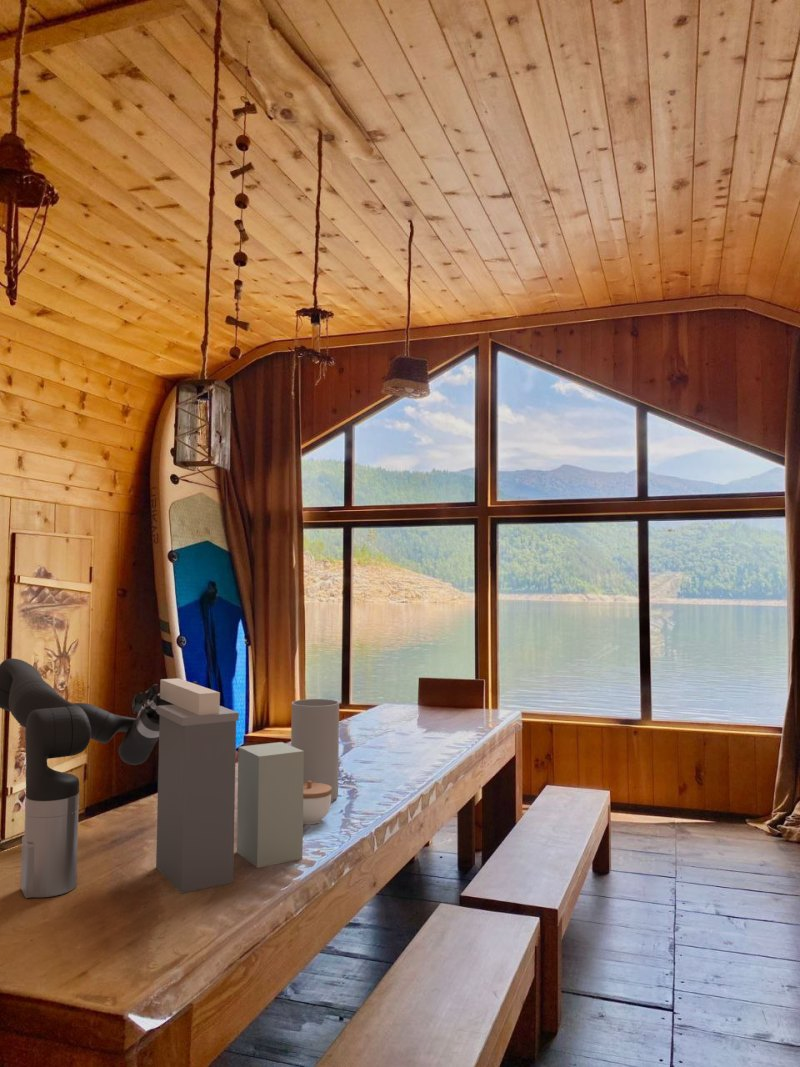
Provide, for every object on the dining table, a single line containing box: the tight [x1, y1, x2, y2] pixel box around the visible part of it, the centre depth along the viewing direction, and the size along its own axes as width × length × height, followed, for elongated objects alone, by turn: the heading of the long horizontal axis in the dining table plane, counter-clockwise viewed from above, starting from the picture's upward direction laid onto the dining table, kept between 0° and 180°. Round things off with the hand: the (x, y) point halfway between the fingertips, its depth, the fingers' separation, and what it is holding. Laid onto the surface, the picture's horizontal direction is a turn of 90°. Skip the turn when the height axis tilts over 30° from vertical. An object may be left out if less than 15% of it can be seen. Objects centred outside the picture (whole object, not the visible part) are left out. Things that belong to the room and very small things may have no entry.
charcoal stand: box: [155, 705, 240, 894], centre depth 160 cm, size 11×16×32 cm
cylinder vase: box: [290, 698, 340, 802], centre depth 215 cm, size 12×12×25 cm
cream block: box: [159, 677, 221, 715], centre depth 165 cm, size 4×25×4 cm, turn 33°
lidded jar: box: [303, 781, 332, 825], centre depth 195 cm, size 11×11×9 cm
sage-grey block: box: [236, 741, 304, 868], centre depth 171 cm, size 10×11×22 cm
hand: (176, 686), depth 172 cm, fingers open, 8 cm apart
